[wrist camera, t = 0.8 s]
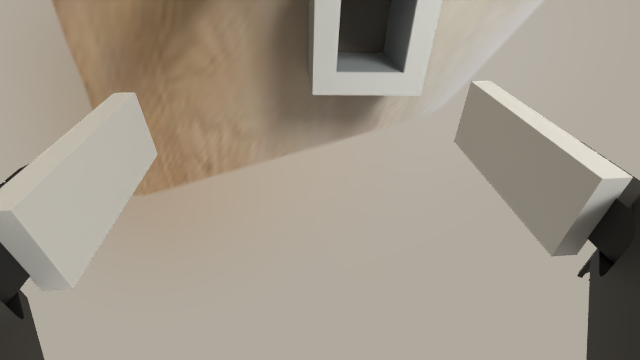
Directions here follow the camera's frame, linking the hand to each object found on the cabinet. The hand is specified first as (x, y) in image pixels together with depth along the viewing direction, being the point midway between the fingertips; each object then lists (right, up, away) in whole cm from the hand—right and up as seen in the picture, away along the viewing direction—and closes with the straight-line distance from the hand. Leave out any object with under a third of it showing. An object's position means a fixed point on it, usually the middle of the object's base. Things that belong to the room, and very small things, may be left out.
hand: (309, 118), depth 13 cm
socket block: (+4, +13, +19) cm, 23 cm away
